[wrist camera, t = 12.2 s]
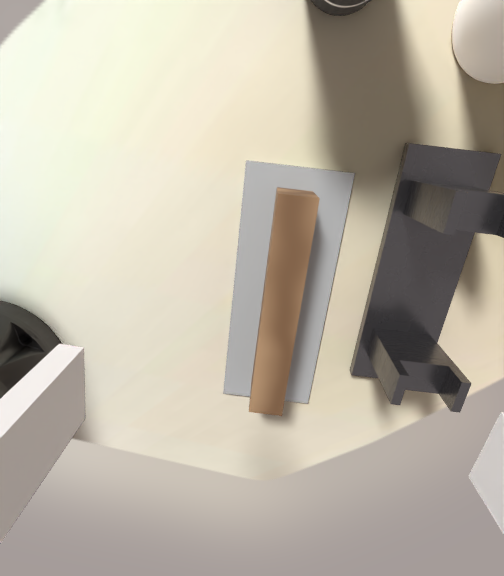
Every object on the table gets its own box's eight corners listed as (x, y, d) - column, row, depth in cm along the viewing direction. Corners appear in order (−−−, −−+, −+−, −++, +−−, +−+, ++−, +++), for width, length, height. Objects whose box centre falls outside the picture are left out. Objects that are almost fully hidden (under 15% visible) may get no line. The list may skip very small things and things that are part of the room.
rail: (251, 382, 42) (248, 411, 37) (276, 187, 34) (277, 193, 29) (280, 385, 42) (281, 415, 37) (313, 191, 34) (319, 198, 29)
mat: (223, 391, 43) (223, 393, 43) (246, 160, 34) (246, 160, 33) (307, 401, 43) (307, 403, 43) (353, 173, 34) (354, 173, 33)
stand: (349, 369, 41) (371, 429, 32) (405, 143, 32) (455, 141, 24) (419, 378, 41) (460, 440, 32) (494, 153, 32) (577, 156, 24)
